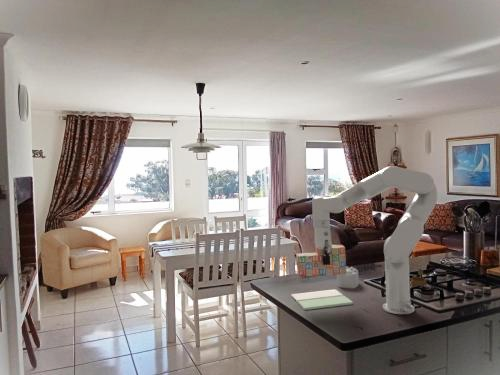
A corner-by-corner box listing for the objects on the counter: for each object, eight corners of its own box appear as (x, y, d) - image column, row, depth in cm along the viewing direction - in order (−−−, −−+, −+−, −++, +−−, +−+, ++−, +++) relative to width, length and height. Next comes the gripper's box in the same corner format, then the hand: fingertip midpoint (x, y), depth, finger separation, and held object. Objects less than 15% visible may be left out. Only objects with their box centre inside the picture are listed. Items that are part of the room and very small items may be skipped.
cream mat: (343, 296, 180) (342, 294, 180) (296, 302, 176) (296, 300, 176) (335, 291, 189) (335, 289, 189) (291, 296, 185) (291, 294, 185)
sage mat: (353, 304, 170) (352, 301, 170) (304, 310, 165) (304, 307, 165) (344, 297, 179) (344, 295, 179) (297, 303, 174) (297, 301, 174)
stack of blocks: (299, 276, 168) (297, 249, 168) (297, 273, 175) (295, 246, 174) (346, 274, 168) (345, 246, 168) (343, 270, 175) (341, 244, 174)
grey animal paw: (335, 286, 196) (334, 270, 196) (341, 280, 207) (341, 264, 207) (355, 288, 191) (354, 272, 191) (361, 281, 202) (360, 265, 202)
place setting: (395, 287, 192) (395, 275, 192) (418, 279, 203) (418, 268, 203) (428, 295, 177) (427, 283, 177) (451, 286, 188) (450, 274, 188)
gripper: (337, 225, 163) (339, 266, 163) (322, 220, 180) (323, 257, 180) (320, 226, 161) (322, 268, 162) (307, 222, 178) (309, 259, 179)
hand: (323, 262), depth 171 cm, fingers closed on stack of blocks, 6 cm apart
